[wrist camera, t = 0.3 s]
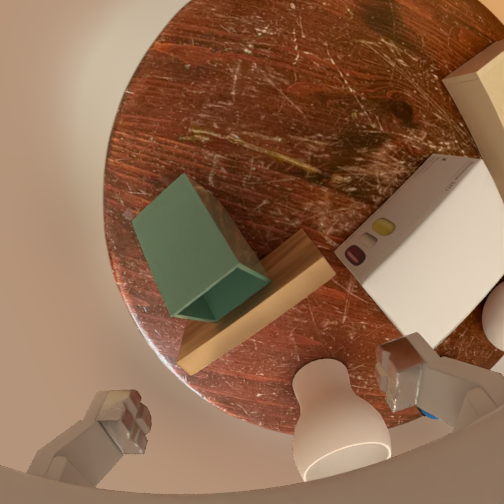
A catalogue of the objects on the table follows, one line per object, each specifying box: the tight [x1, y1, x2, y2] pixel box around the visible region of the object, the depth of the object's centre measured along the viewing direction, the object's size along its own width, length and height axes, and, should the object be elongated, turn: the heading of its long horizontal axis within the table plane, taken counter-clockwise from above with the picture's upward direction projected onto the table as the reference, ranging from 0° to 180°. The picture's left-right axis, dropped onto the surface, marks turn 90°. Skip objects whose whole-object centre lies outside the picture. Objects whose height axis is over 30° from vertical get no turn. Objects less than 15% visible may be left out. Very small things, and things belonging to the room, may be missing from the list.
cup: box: [292, 359, 391, 482], centre depth 32 cm, size 11×11×15 cm
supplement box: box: [334, 153, 504, 349], centre depth 29 cm, size 17×13×9 cm
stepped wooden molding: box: [176, 228, 336, 376], centre depth 31 cm, size 6×16×9 cm, turn 129°
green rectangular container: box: [131, 172, 272, 323], centre depth 27 cm, size 12×7×12 cm, turn 39°
